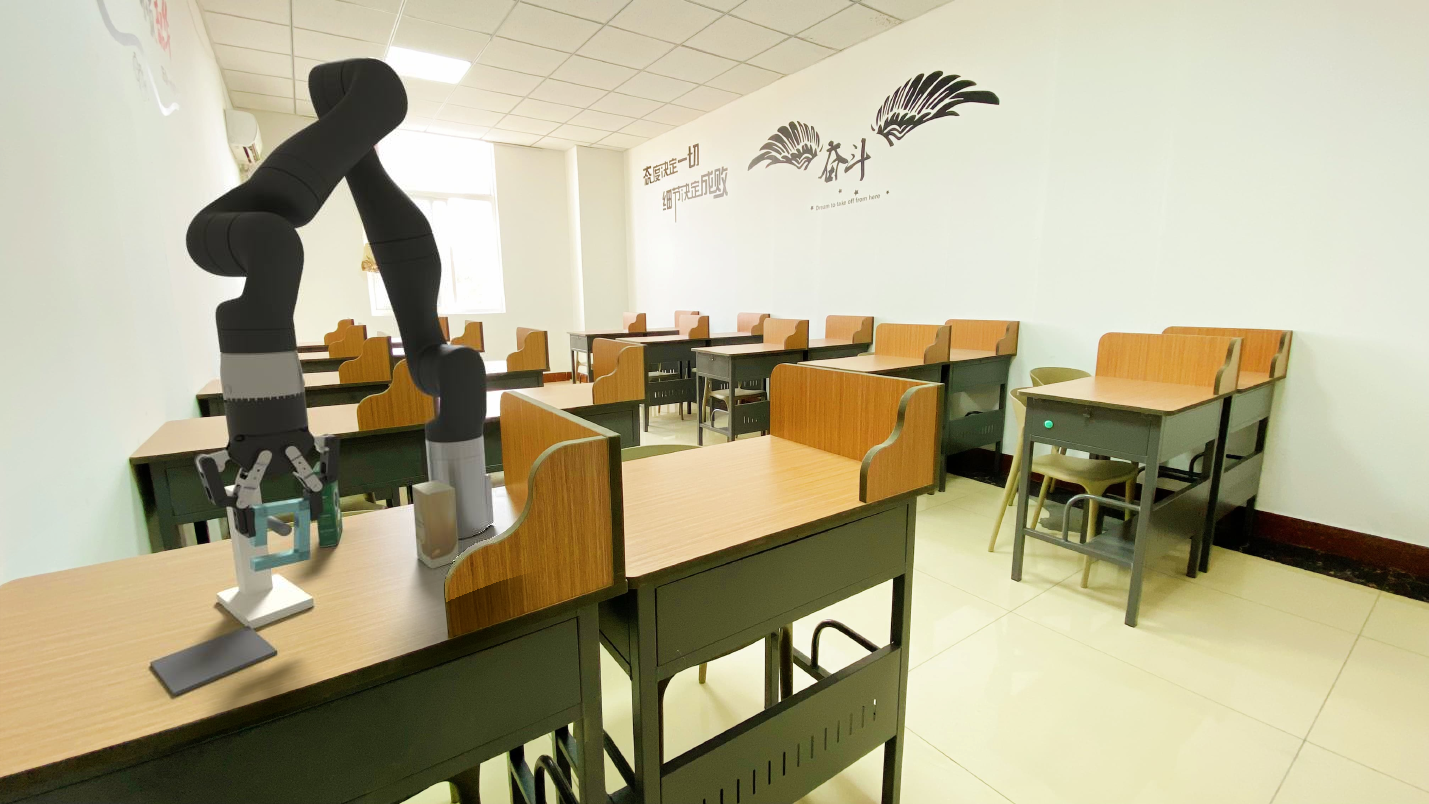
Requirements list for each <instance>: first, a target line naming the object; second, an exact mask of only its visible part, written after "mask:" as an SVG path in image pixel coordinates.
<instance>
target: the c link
mask: <svg viewBox="0 0 1429 804" xmlns="http://www.w3.org/2000/svg"><path fill="white" fill-rule="evenodd" d="M251 506H252V507H253V515H254V522H255V530H256V536H255V537H252V538H250V544H251V545H253V546H254V547H258V546H263V545H268V528H267V517H268V516H273V517H275V516H279V515H285V514H292V513H293V549H289V550H284V551H281V552H274V553H271V554H269V555H264V556H260V557H255V558H250V569H252V570H253V571H254V572H257V571H261V570H266V569H270V568H271V569H273V568H274V569H275V568H279V567H283V566H288V565H291V564H296V563H300V562H304V561H305V562H306V561H309V560H311V521H310V500H308V499H306V498H304V497H299V498H292V499H286V500H280V501H273V502H267V503H262V504H258V505H251Z"/></svg>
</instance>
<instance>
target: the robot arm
mask: <svg viewBox="0 0 1429 804" xmlns="http://www.w3.org/2000/svg"><path fill="white" fill-rule="evenodd" d="M307 82H308V83H307V86H308V92H309V95H310V100H311V104H312V107H313V109H314V111H315V112H314V113H316V116H317V120H315V121H314V122H312V123H311V124H309V125H308V126H305V128H302V129H301V130H299V131H298V132H296V133H294V134H293V135H291V136H290V137H289V138H287V139H286V140H285V141H283V142H281V144H279V145H278V146H276V148H274V149H273V150H272V151H271V153H269V154H268V156H267V157H266V159H264V161H263V162H262V163H261V164H260V165H259V166H258V167H257V169H256V170H255V171H254V172H253V173H252V175H251V176H250V177H249V178H248V180H246V181H245V182H242V183H240V184H239V185H237V186H236V187H233V188H231V189H230V190H229V191H227V192H225V193H223V194H222V195H221V196H219V197H218V198H216V199H215V200H213V201H212V202H210V203H208V204H207V205H206V206H204V207H203V208H202V209H201V210H200V211H198V213H197V214H196V215H195V216H194V217H193V218H192V220H191V222H190V223H189V225H188V228H187V231H186V234H185V247H186V250H187V253H188V256H189V258H190V259H191V260H192V261H193V262H194V264H196V266H197V267H199V268H200V269H202V270H203V271H205V272H206V273H209V274H211V275H213V276H217V277H218V276H220V277H224V278H225V277H227V278H245V282H244V286H243V289H242V292H241V294H240V296H238V297H236V298H231V299H227V300H225V301H222V302H220V303H218V305H217V307H216V309H215V312H214V313H215V325H216V332H217V339H218V340H217V341H218V346H219V347H218V348H219V352H220V353H219V355H220V356H219V358H220V363H219V365H220V366H219V376H220V384H221V391H222V397H223V398H222V399H223V405H224V411H225V412H224V413H225V421H226V428H227V434H228V442H227V444H226V446H225V448H224V449H222V450H219V451H217V452H211V453H209V454H204V453H200V454H199V453H198V454H196V456H194V459H193V460H194V464H195V466H196V467H195V468H196V470H197V472H198V474H199V477H200V481H201V483H202V485H203V488H204V490H205V494H206V497H207V499H208V502H209V503H211V504H213V505H215V507H217V508H219V509H220V508H222V509H223V508H227V507H232V509H233V517H234V523H235V529H236V530H237V532H238V533H240V534H241V535H244V536H245V537H247V538H252V537H255V536H256V530H255V522H254V515H253V507H252V506H250V505H249V503H250V501H251V498H252V496H253V494H254V491H255V490H256V489H257V488H258V486H260V483H261V481H262V479H263V480H264V479H268V478H272V477H274V476H277V475H289V474H293V475H294V476H295V477H296V478H297V479H298V480H299V481H300V482H301V484H302V485H303V487H304V488H305V489H303V490H302V494H303V498H306V499H308V500H310V522H315V521H317V520H319V515H321V514H322V513H323V510H324V509H323V501H322V488H323V487H324V486H326V485H327V484H329V483H334V482H336V481H337V482H338V478H339V465H340V463H339V462H340V447H341V445H340V444H341V438H340V437H339V436H336V435H333V434H331V433H330V434H329V433H324V434H322V435H313V434H312V433H311V432H310V429H309V417H308V416H309V415H308V409H307V400H306V392H305V386H306V382H305V381H306V380H305V378H304V374H303V368H302V364H301V360H300V356H299V352H298V343H297V336H296V326H295V321H294V320H295V319H294V315H295V312H296V311H295V310H296V306H297V302H298V296H299V290H300V286H301V285H300V284H301V280H302V278H303V277H302V275H303V272H304V271H303V270H304V265H305V264H304V263H305V251H304V245H303V241H302V240H301V237H300V235H299V233H298V231H297V230H296V229H299V228H302V227H304V226H307V225H308V224H309V223H310V222H311V221H313V219H314V218H315V217H316V215H317V214H318V213H319V212H320V210H321V209H322V207H323V206H324V205H325V203H326V202H327V200H328V199H329V197H330V196H331V195H332V193H333V191H334V190H335V189H336V188H337V186H338V185H339V183H340V182H341V181H342V180H343V179H344V178H345V180H346V183H347V185H348V188H349V191H350V193H351V196H352V198H353V201H354V204H355V207H356V209H357V211H358V214H359V217H360V219H361V222H362V223H361V224H362V226H363V229H364V231H365V235H366V238H367V242H368V244H369V248H370V251H371V253H372V255H373V259H374V261H375V265H376V267H377V270H378V271H379V274H380V276H381V279H382V281H383V285H384V288H385V290H386V294H387V297H388V300H389V303H390V306H391V309H392V312H393V314H394V317H395V321H396V324H397V327H398V331H399V336H400V339H401V343H402V348H403V353H404V357H405V361H406V366H407V369H408V373H409V375H410V378H411V381H412V382H413V384H414V386H415V387H416V388H417V390H418V391H419V392H421V393H423V394H424V395H426V396H430V397H435V398H439V412H438V415H437V416H436V417H435V418H432V419H429V420H428V421H426V423H425V425H424V436H425V446H426V447H425V448H426V449H425V450H426V460H427V473H428V482H430V481H435V480H440V481H442V482H444V483H446V484H448V485H449V486H451V487H453V488H455V502H456V519H457V537H458V540H460V539H465V538H470V537H474V536H473V535H475V536H477V535H479V534H478V533H479V532H481V531H483V530H484V529H486V528H487V526H488V525H490V524H492V523H493V522H494V506H493V489H492V475H490V474H488V473H487V472H486V458H485V457H486V456H485V443H484V442H485V440H484V424H485V421H486V418H487V414H488V413H487V406H488V404H487V402H488V401H487V397H488V395H487V393H488V392H487V390H488V389H487V387H488V385H487V383H488V382H487V371H486V366H485V362H484V360H483V357H482V356H481V354H480V353H479V351H477V350H475V349H474V348H473V347H471V346H467V345H460V344H459V345H458V344H448V342H447V339H446V337H445V334H444V331H443V328H442V325H441V323H440V322H441V321H440V319H439V318H440V317H439V314H438V299H439V294H440V287H441V282H442V281H441V280H442V259H441V255H440V252H439V249H438V245H437V241H436V239H435V235H434V233H433V229H432V226H431V223H430V221H429V220H428V218H427V216H426V215H425V214H424V213H423V211H422V210H421V209H420V208H419V207H418V205H417V204H416V203H415V202H414V201H413V200H412V199H411V198H410V197H409V196H408V194H406V193H405V191H404V190H403V189H401V187H399V185H398V184H397V183H396V182H395V181H394V180H393V179H392V177H391V176H390V175H389V173H388V172H387V170H386V168H385V167H384V166H383V163H382V162H381V159H380V158H379V155H378V152H377V151H376V148H375V146H376V145H377V144H379V142H380V141H382V140H383V139H384V138H386V137H387V136H388V135H389V134H391V133H392V132H393V131H394V130H396V129H397V128H398V127H399V126H400V125H401V124H402V123H403V122H404V120H405V119H406V116H407V114H408V109H409V108H408V107H409V102H408V100H409V99H408V95H407V91H406V88H405V86H404V83H403V81H402V79H401V78H400V76H399V75H398V73H397V72H396V70H395V69H394V68H393V67H392V66H391V65H389V64H388V63H387V62H386V61H384V60H382V59H380V58H376V57H372V56H357V57H356V56H355V57H351V58H346V59H340V60H335V61H328V62H323V63H319V64H317V65H315V66H313V67H312V68H311V70H310V72H309V73H308V81H307ZM314 446H315V450H316V451H317V452H319V453H320V456H319V462H320V467H319V475H317V476H315V474H314V471H313V469H312V468H311V466H310V465H309V463H308V461H306V458H307V456H308V455H309V453H310V452H311V450H312V449H313V447H314ZM229 460H230V461H232V462H233V463H234V464H235V465H236V466H238V467H240V468H239V471H238V473H237V476H236V478H235V483H234V485H235V487H234V489H233V491H232V494H227V493H226V490H225V487H226V486H225V484H224V482H223V479H222V477H221V474H220V473H221V472H222V471H224V470H225V467H226V464H225V463H226V462H227V461H229ZM494 523H495V522H494ZM476 534H477V535H476Z"/></svg>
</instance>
